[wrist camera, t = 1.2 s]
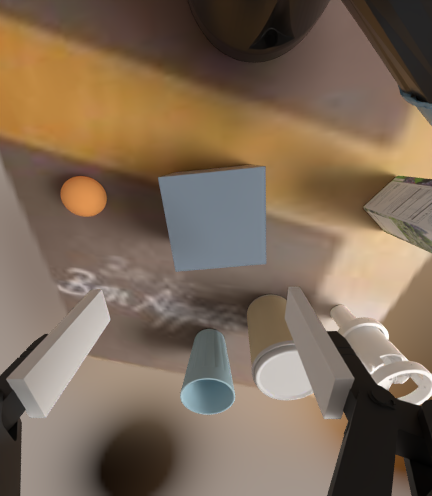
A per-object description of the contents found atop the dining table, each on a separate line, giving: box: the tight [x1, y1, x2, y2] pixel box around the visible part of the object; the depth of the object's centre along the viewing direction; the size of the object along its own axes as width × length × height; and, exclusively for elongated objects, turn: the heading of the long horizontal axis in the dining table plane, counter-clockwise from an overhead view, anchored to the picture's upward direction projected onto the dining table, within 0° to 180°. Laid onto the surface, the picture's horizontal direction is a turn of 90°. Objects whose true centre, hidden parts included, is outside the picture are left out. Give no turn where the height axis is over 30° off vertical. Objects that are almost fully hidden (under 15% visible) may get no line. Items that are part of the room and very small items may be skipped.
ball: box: [61, 176, 107, 217], centre depth 27 cm, size 5×5×5 cm
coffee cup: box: [247, 294, 314, 400], centre depth 32 cm, size 9×9×12 cm
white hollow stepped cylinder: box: [330, 305, 432, 405], centre depth 30 cm, size 7×7×15 cm
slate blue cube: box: [158, 165, 266, 272], centre depth 26 cm, size 10×10×9 cm
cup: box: [180, 329, 235, 415], centre depth 35 cm, size 8×8×10 cm
